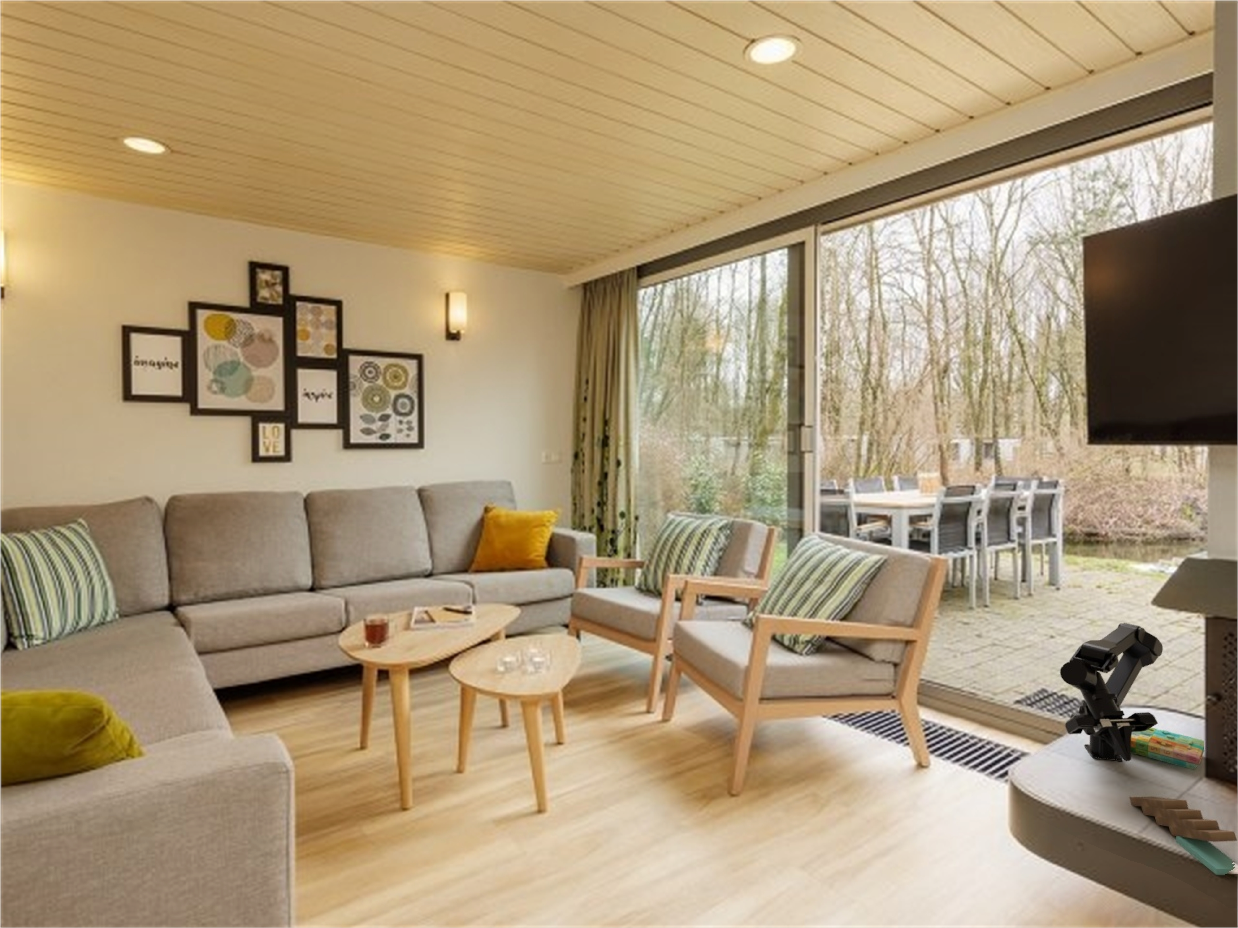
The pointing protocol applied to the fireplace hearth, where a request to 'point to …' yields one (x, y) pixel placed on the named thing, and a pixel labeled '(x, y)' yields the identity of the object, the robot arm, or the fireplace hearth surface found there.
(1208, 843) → the domino
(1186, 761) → the puzzle game
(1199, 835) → the domino
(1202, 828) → the domino
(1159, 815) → the domino
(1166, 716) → the fireplace hearth surface
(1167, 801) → the domino
